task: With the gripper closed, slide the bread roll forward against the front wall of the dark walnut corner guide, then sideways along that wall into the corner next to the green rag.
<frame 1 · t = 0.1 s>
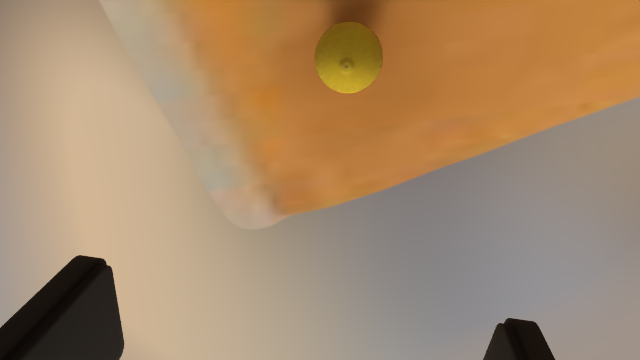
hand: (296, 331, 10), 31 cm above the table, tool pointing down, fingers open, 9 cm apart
lemon: (350, 50, 37), on the table
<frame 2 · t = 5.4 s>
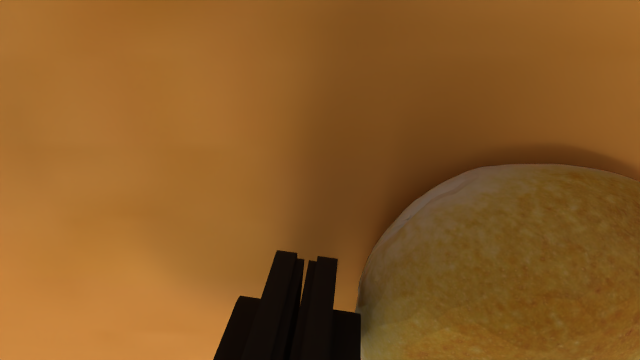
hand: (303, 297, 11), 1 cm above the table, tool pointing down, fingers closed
bread roll: (508, 294, 12), on the table, touching gripper
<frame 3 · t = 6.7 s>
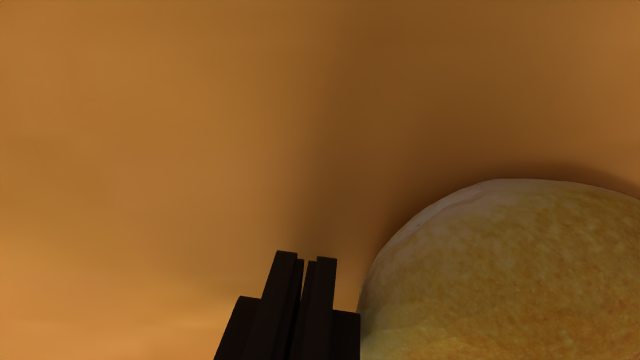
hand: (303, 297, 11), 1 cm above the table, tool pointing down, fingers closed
bread roll: (507, 308, 12), on the table, touching gripper
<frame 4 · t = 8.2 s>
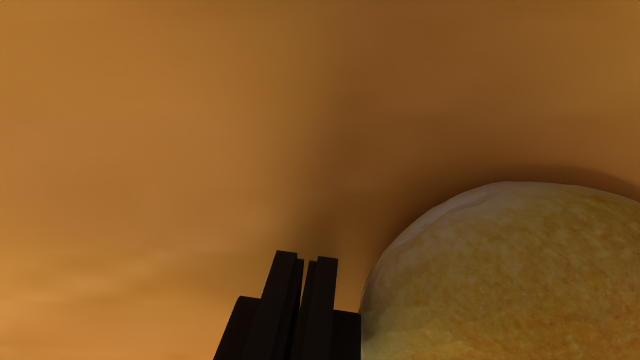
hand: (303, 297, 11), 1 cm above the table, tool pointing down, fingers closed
bread roll: (508, 309, 12), on the table, touching gripper
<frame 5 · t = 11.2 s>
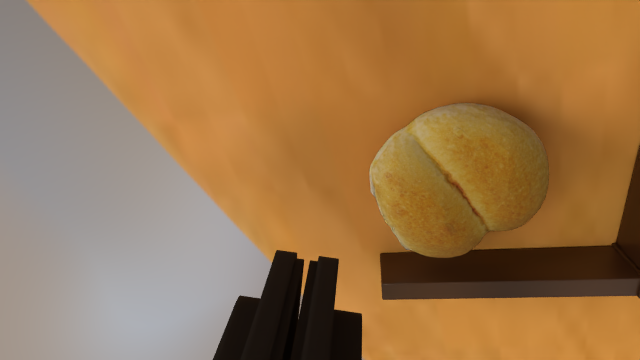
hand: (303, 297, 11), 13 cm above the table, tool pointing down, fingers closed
bread roll: (449, 173, 23), on the table
corner guide: (512, 150, 22), on the table
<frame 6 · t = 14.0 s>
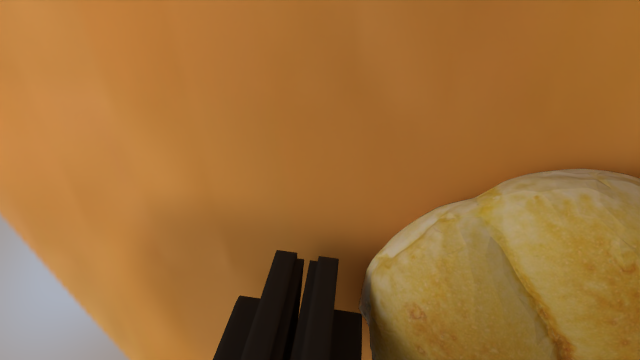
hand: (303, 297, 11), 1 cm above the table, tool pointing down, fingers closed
bread roll: (518, 295, 12), on the table, touching gripper
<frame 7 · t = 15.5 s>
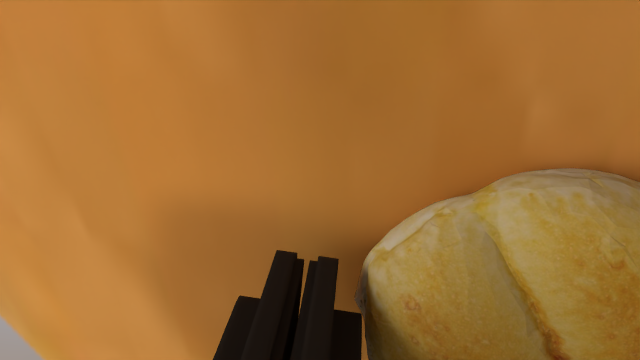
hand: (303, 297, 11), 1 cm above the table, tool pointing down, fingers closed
bread roll: (511, 291, 12), on the table, touching gripper
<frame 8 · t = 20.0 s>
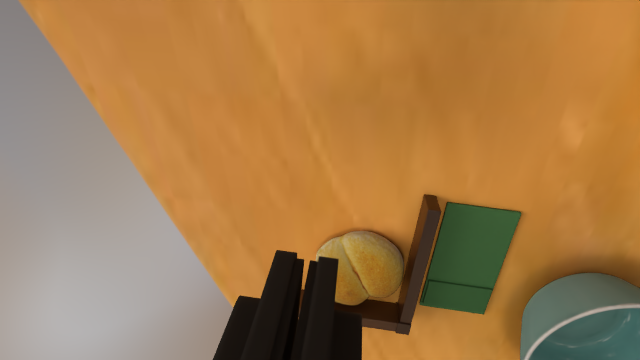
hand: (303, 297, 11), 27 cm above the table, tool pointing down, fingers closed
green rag: (466, 260, 42), on the table
bread roll: (358, 260, 44), on the table
corner guide: (348, 248, 43), on the table
bowl: (572, 306, 44), on the table
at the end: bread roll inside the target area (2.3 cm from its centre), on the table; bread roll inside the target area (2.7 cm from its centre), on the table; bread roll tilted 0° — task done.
